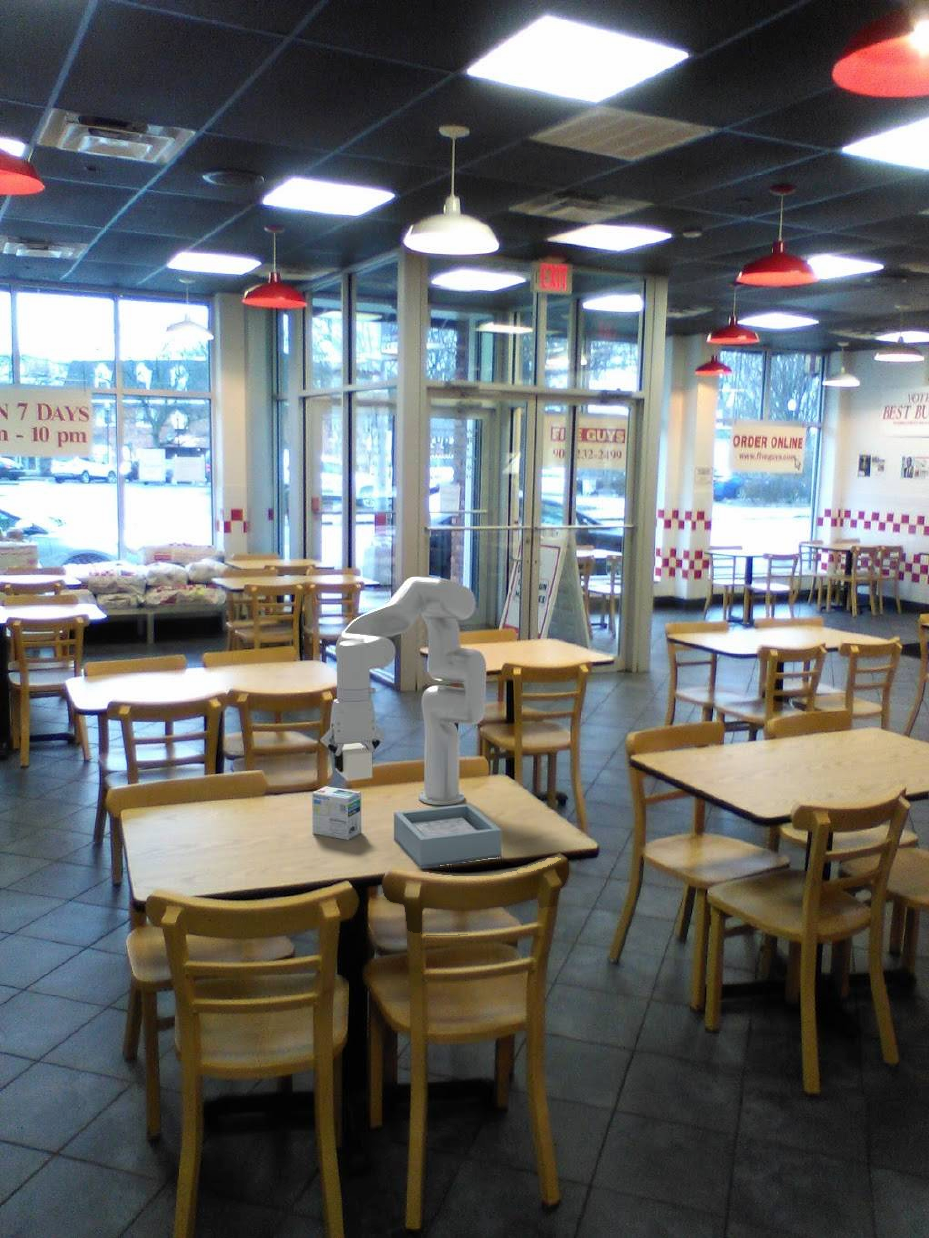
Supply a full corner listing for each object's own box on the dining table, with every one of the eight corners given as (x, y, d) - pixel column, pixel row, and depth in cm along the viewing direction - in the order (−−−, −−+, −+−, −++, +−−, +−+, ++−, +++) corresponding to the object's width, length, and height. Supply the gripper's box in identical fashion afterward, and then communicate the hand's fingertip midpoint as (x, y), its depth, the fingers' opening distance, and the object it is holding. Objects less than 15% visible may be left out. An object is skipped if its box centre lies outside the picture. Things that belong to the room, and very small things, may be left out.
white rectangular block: (335, 769, 254) (335, 745, 253) (359, 767, 256) (359, 742, 255) (347, 780, 245) (347, 755, 244) (372, 777, 248) (372, 752, 247)
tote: (393, 839, 263) (394, 812, 262) (469, 830, 271) (469, 803, 270) (420, 869, 245) (420, 839, 244) (500, 858, 252) (501, 829, 251)
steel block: (412, 838, 261) (412, 823, 261) (461, 832, 266) (461, 817, 265) (429, 857, 249) (430, 841, 249) (481, 850, 254) (481, 834, 253)
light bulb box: (362, 832, 268) (362, 790, 266) (348, 841, 262) (348, 798, 260) (325, 825, 273) (325, 784, 271) (311, 833, 267) (311, 792, 265)
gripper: (384, 688, 254) (384, 761, 257) (312, 693, 248) (313, 768, 251) (394, 695, 247) (393, 770, 250) (320, 700, 241) (321, 777, 244)
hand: (353, 768), depth 251 cm, fingers closed on white rectangular block, 6 cm apart
